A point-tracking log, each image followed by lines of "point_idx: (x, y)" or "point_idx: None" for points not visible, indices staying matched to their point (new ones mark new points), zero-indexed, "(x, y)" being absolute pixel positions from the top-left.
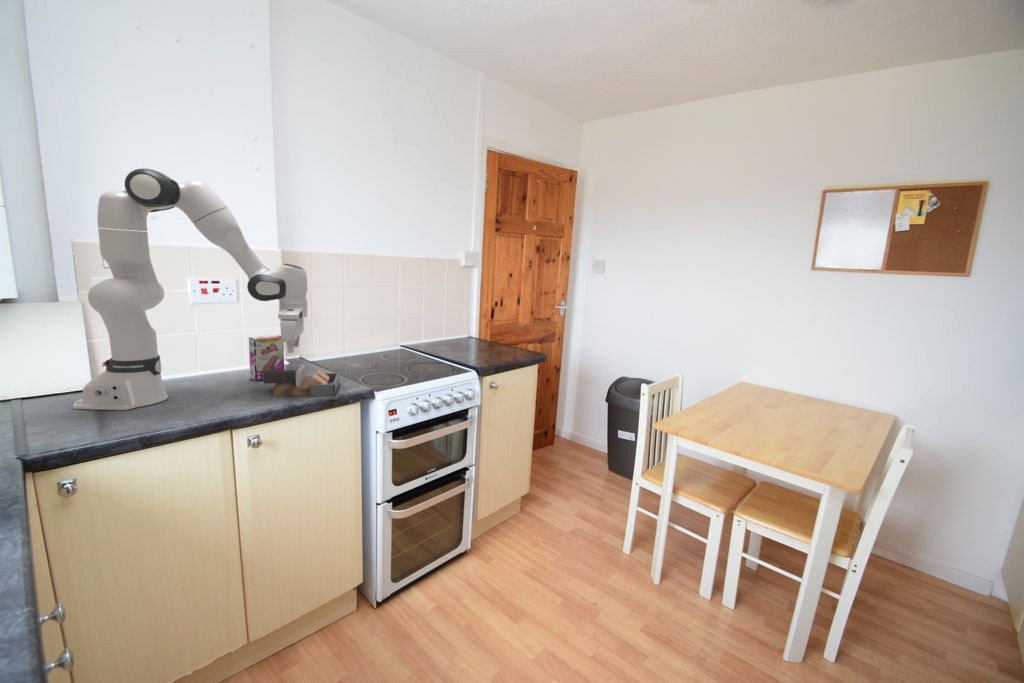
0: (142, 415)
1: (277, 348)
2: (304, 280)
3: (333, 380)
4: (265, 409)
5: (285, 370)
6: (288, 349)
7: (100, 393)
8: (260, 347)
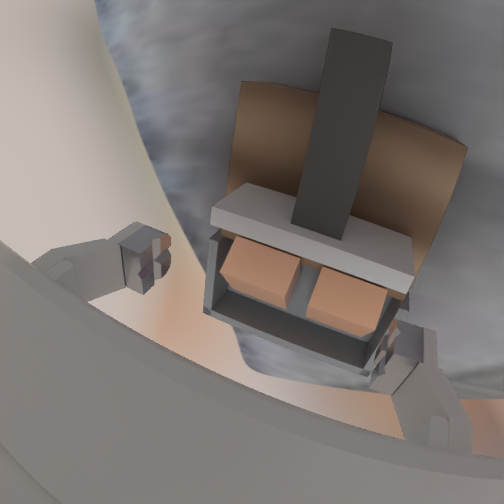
0: None
1: None
2: None
3: (373, 337)
4: (130, 76)
5: (356, 160)
6: (119, 238)
7: None
8: None
